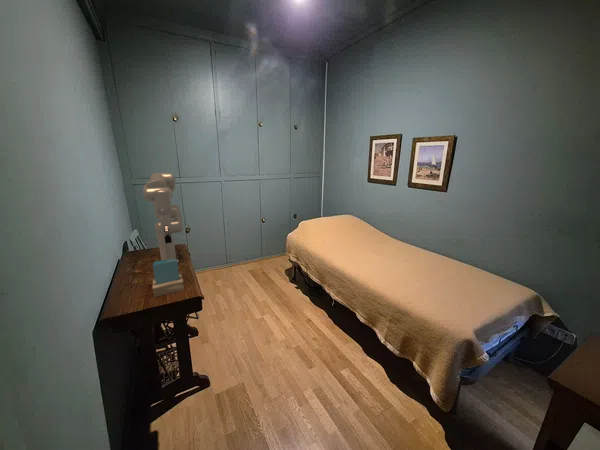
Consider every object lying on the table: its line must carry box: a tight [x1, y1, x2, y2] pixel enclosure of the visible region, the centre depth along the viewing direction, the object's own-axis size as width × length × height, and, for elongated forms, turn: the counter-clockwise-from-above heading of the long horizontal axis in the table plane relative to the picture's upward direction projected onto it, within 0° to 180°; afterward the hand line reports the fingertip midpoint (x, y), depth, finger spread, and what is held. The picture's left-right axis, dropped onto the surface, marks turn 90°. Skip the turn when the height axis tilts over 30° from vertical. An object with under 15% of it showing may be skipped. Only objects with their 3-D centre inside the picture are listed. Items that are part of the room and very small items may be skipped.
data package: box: [152, 258, 180, 284], centre depth 135 cm, size 12×4×12 cm, turn 121°
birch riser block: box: [152, 272, 185, 298], centre depth 137 cm, size 13×15×5 cm
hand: (168, 240), depth 137 cm, fingers open, 9 cm apart
